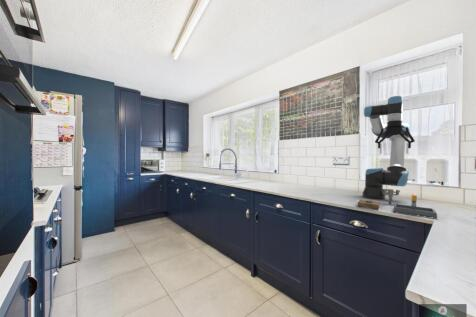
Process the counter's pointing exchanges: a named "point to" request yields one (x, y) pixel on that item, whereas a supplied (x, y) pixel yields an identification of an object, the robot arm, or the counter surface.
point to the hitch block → (368, 204)
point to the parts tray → (419, 210)
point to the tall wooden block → (413, 201)
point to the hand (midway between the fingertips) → (393, 153)
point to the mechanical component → (390, 193)
